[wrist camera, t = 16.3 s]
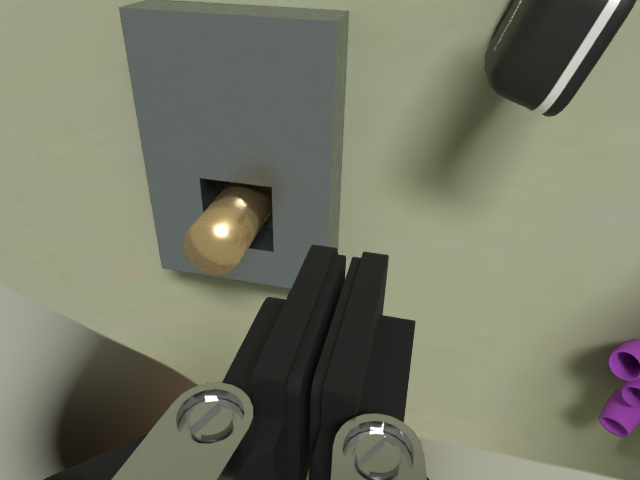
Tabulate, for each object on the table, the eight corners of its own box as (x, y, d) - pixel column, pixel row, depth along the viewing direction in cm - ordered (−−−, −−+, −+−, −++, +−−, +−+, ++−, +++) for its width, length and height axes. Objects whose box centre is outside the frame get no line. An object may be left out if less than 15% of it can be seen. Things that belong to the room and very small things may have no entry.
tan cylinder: (278, 172, 41) (237, 228, 34) (278, 216, 43) (240, 279, 36) (229, 166, 42) (179, 220, 34) (232, 210, 44) (186, 270, 37)
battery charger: (534, -73, 30) (569, -68, 20) (596, -46, 30) (660, -27, 20) (472, 47, 33) (476, 98, 24) (527, 71, 33) (552, 132, 24)
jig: (348, 11, 34) (336, 21, 31) (336, 266, 45) (326, 294, 41) (150, -1, 37) (118, 7, 33) (183, 243, 47) (162, 268, 44)
